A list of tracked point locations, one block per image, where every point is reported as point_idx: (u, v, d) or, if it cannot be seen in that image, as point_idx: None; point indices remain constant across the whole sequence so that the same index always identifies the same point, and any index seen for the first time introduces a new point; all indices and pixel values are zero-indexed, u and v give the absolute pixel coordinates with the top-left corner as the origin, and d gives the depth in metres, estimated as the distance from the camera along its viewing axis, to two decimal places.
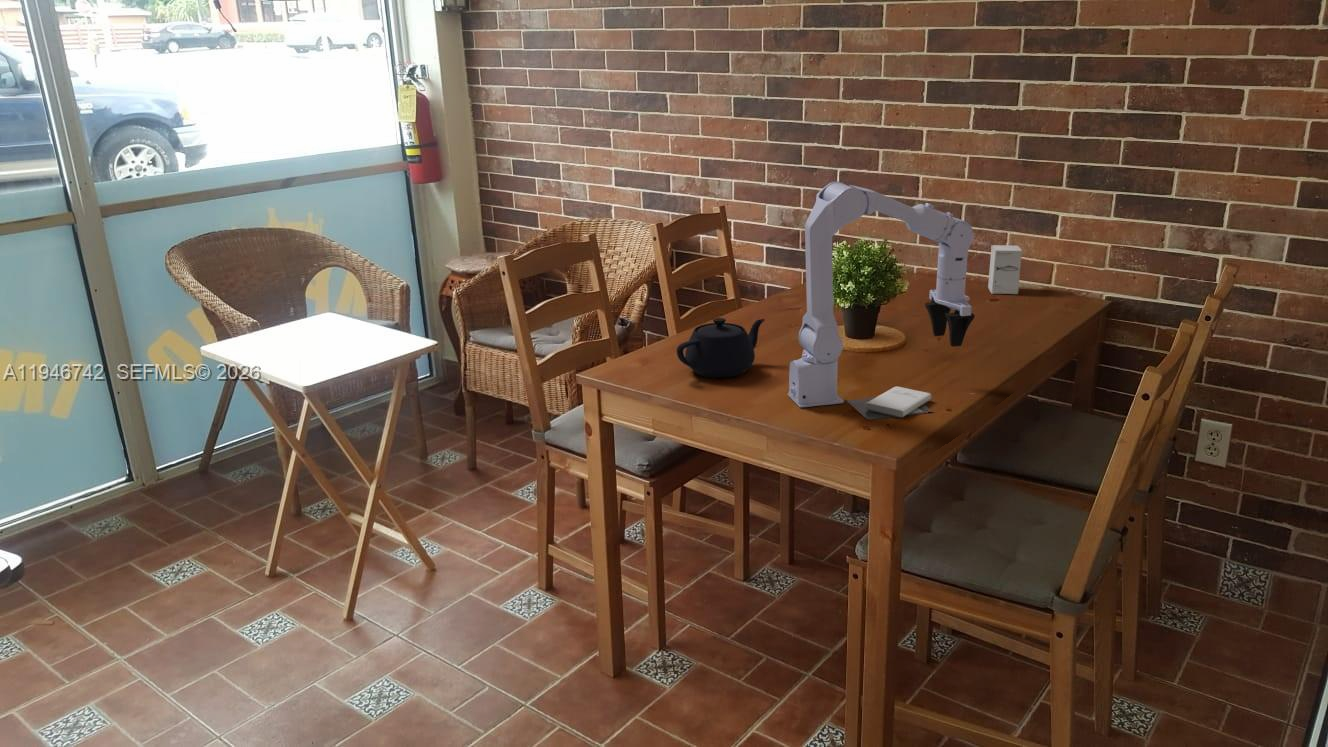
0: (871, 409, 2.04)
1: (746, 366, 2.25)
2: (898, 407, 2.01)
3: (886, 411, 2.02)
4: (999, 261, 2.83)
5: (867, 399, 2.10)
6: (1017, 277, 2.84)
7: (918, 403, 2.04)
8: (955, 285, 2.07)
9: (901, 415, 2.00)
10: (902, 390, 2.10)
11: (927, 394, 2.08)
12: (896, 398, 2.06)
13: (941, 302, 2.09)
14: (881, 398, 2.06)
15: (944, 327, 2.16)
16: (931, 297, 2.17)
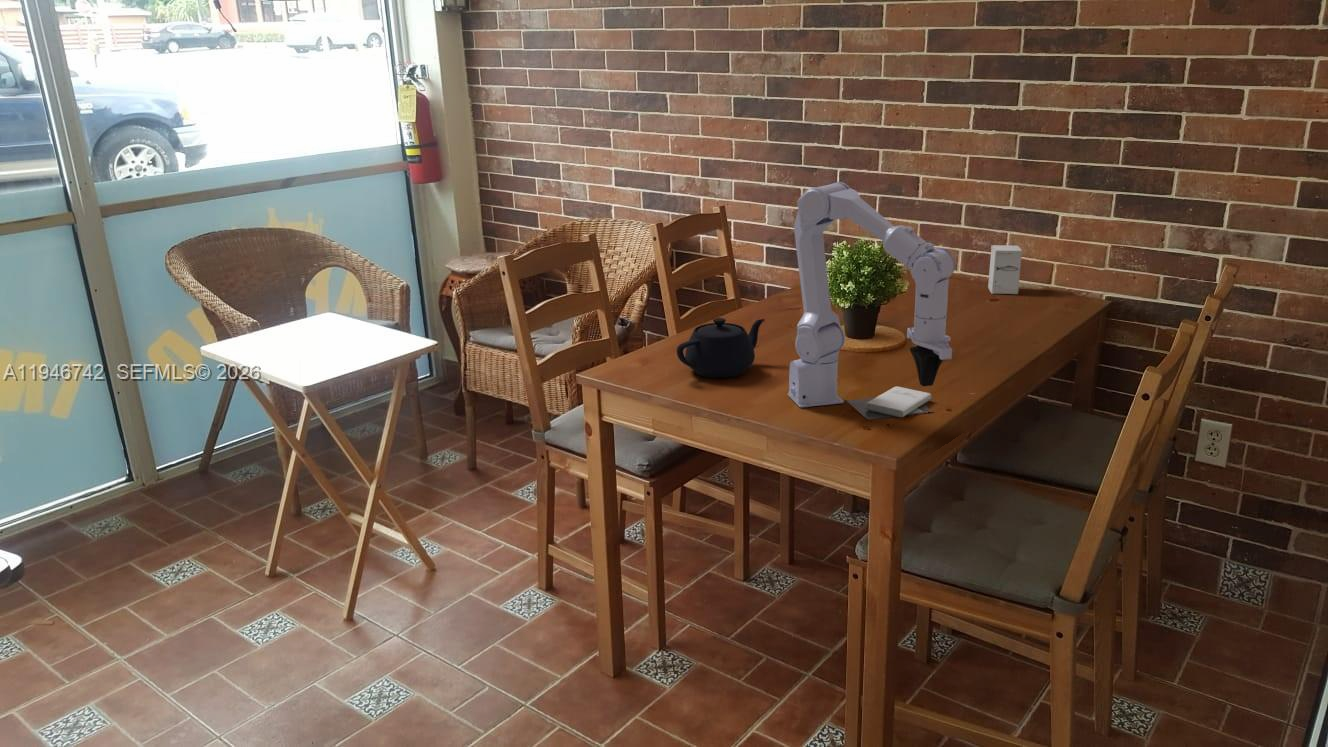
0: (871, 409, 2.04)
1: (746, 366, 2.25)
2: (898, 407, 2.01)
3: (886, 411, 2.02)
4: (999, 261, 2.83)
5: (867, 399, 2.10)
6: (1017, 277, 2.84)
7: (918, 403, 2.04)
8: (934, 324, 1.86)
9: (901, 415, 2.00)
10: (902, 390, 2.10)
11: (927, 394, 2.08)
12: (896, 398, 2.06)
13: (919, 343, 1.88)
14: (881, 398, 2.06)
15: None
16: None
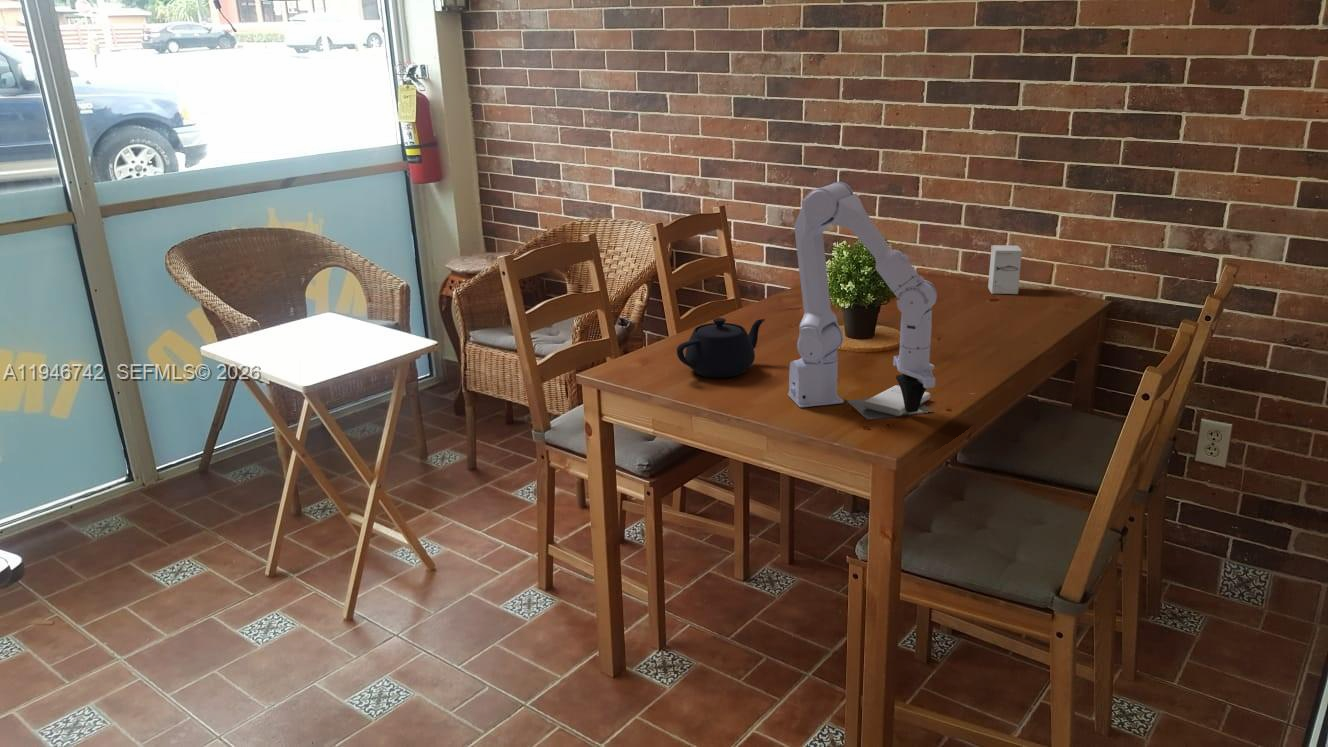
0: (869, 407, 2.04)
1: (746, 366, 2.25)
2: (895, 406, 2.02)
3: (883, 410, 2.02)
4: (999, 261, 2.83)
5: (867, 399, 2.10)
6: (1017, 277, 2.84)
7: None
8: (918, 354, 1.94)
9: (898, 414, 2.00)
10: None
11: (926, 393, 2.08)
12: (894, 397, 2.06)
13: (904, 372, 1.96)
14: (879, 397, 2.06)
15: None
16: None
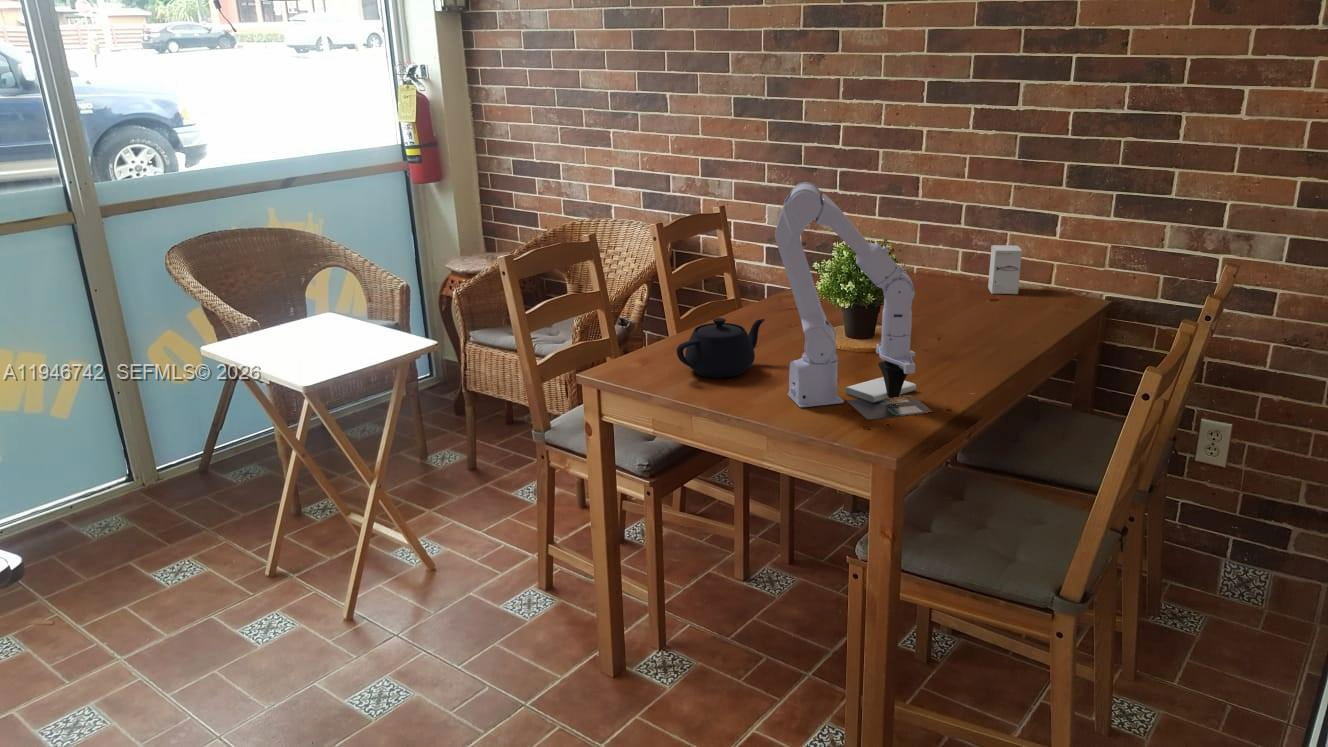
0: (849, 393, 2.13)
1: (746, 366, 2.25)
2: (872, 393, 2.09)
3: (861, 396, 2.10)
4: (999, 261, 2.83)
5: None
6: (1017, 277, 2.84)
7: None
8: (899, 341, 2.02)
9: (872, 400, 2.08)
10: None
11: (911, 384, 2.14)
12: (878, 385, 2.13)
13: (885, 358, 2.04)
14: (863, 384, 2.14)
15: None
16: None
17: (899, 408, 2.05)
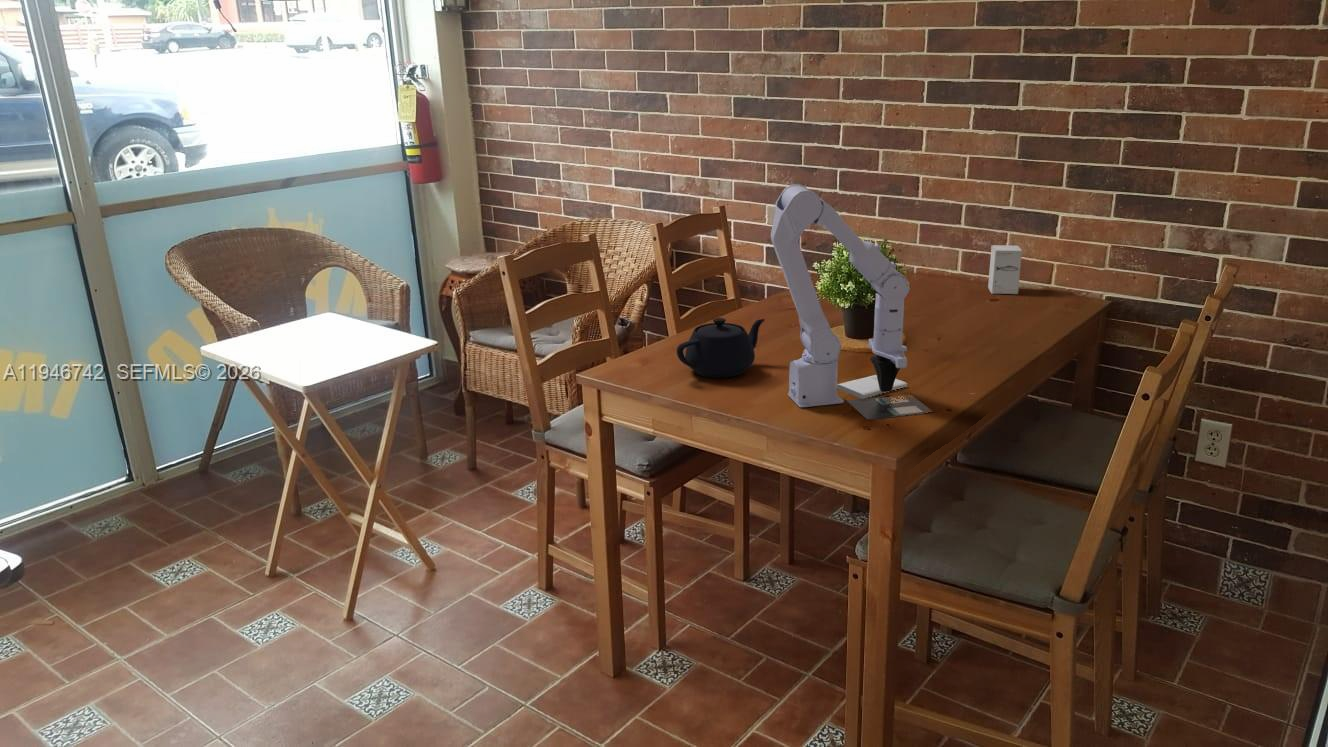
0: None
1: (746, 366, 2.25)
2: (862, 391, 2.12)
3: (851, 393, 2.14)
4: (999, 261, 2.83)
5: (867, 399, 2.10)
6: (1017, 277, 2.84)
7: None
8: (891, 336, 2.05)
9: None
10: None
11: (902, 383, 2.16)
12: (869, 383, 2.17)
13: (878, 353, 2.07)
14: (854, 382, 2.18)
15: None
16: None
17: (899, 408, 2.05)
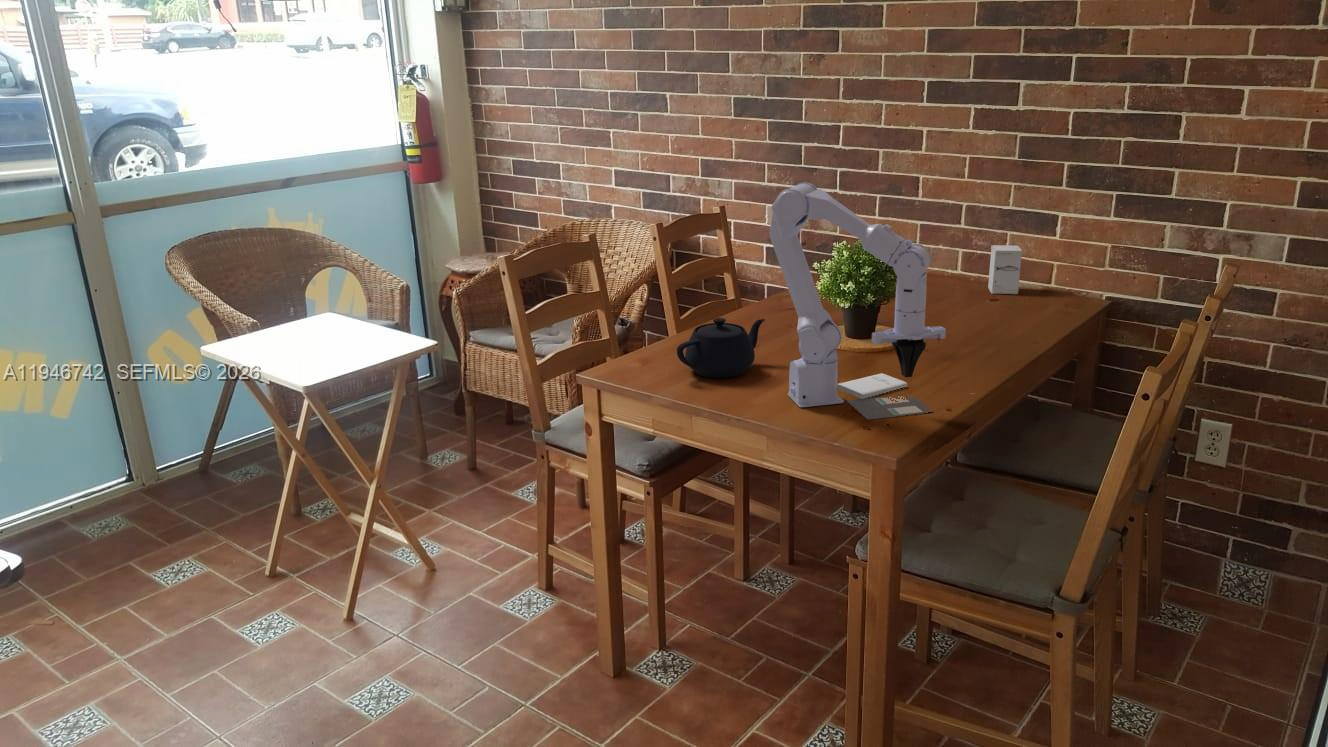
0: None
1: (746, 366, 2.25)
2: (861, 390, 2.12)
3: (851, 393, 2.14)
4: (999, 261, 2.83)
5: (867, 399, 2.10)
6: (1017, 277, 2.84)
7: (886, 389, 2.14)
8: (895, 314, 1.97)
9: (861, 398, 2.11)
10: (884, 377, 2.20)
11: (902, 383, 2.16)
12: (869, 383, 2.17)
13: None
14: (854, 382, 2.18)
15: (909, 368, 2.00)
16: None
17: (899, 408, 2.05)
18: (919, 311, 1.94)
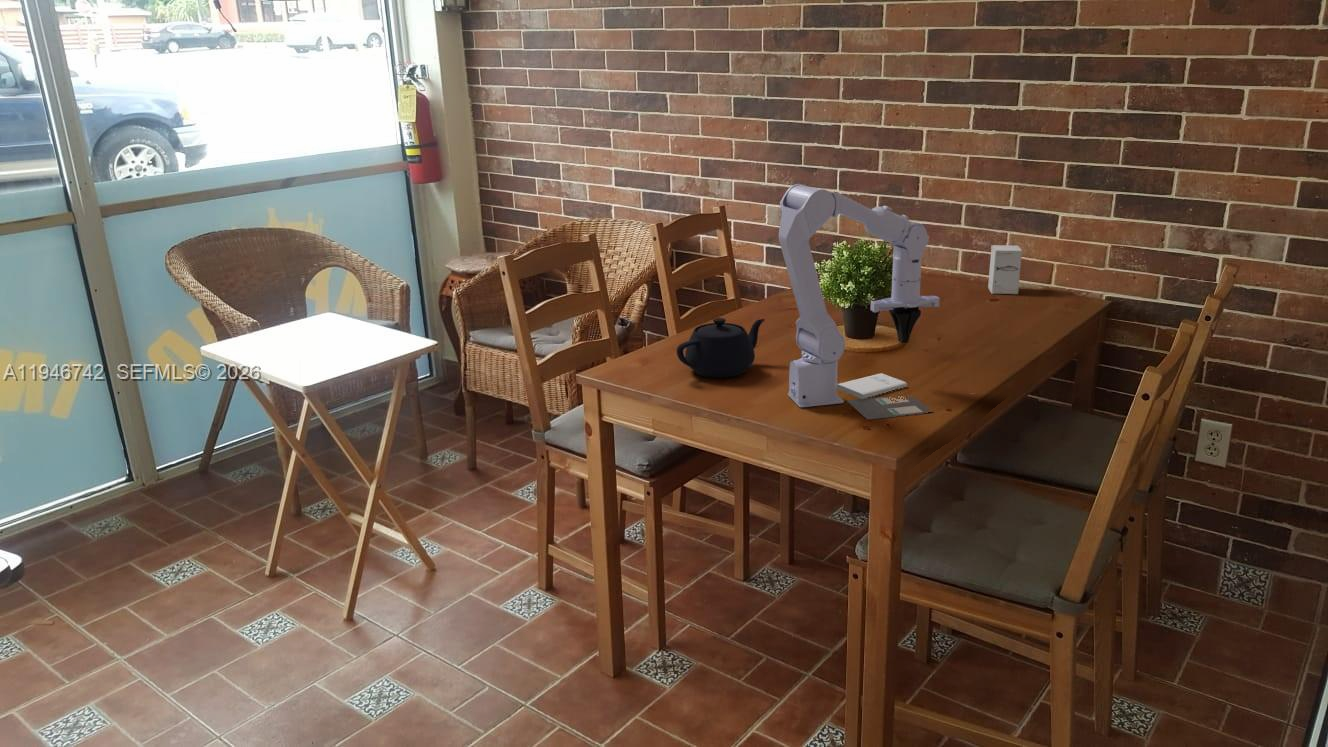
0: None
1: (746, 366, 2.25)
2: (861, 390, 2.12)
3: (850, 393, 2.14)
4: (999, 261, 2.83)
5: (867, 399, 2.10)
6: (1017, 277, 2.84)
7: (886, 389, 2.14)
8: (892, 284, 2.12)
9: (861, 398, 2.11)
10: (883, 377, 2.20)
11: (902, 383, 2.16)
12: (868, 383, 2.17)
13: None
14: (854, 382, 2.18)
15: (905, 334, 2.14)
16: None
17: (899, 408, 2.05)
18: (914, 280, 2.09)
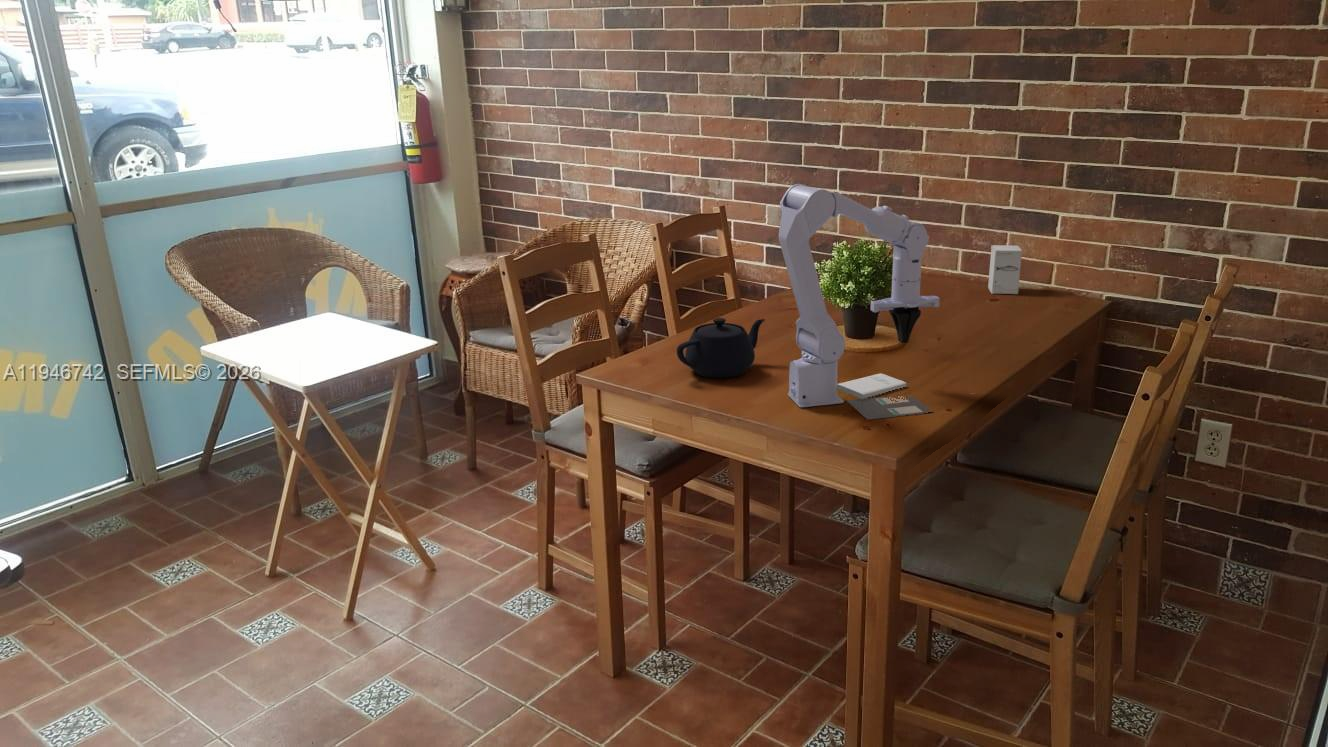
0: None
1: (746, 366, 2.25)
2: (861, 390, 2.12)
3: (850, 393, 2.14)
4: (999, 261, 2.83)
5: (867, 399, 2.10)
6: (1017, 277, 2.84)
7: (886, 389, 2.14)
8: (892, 284, 2.12)
9: (861, 398, 2.11)
10: (883, 377, 2.20)
11: (902, 383, 2.16)
12: (868, 383, 2.17)
13: None
14: (854, 382, 2.18)
15: (905, 334, 2.14)
16: None
17: (899, 408, 2.05)
18: (914, 280, 2.09)
